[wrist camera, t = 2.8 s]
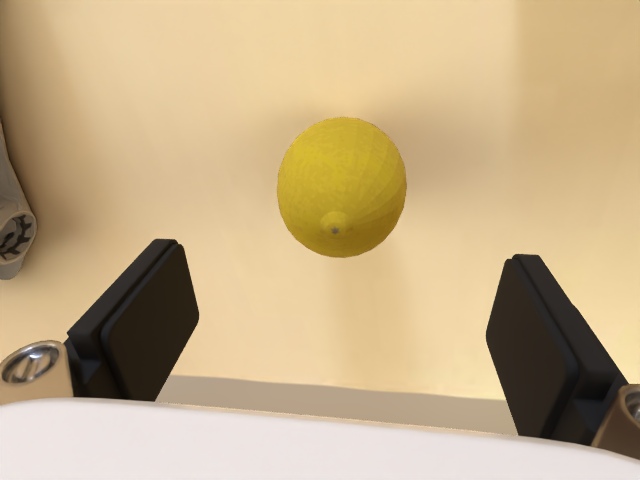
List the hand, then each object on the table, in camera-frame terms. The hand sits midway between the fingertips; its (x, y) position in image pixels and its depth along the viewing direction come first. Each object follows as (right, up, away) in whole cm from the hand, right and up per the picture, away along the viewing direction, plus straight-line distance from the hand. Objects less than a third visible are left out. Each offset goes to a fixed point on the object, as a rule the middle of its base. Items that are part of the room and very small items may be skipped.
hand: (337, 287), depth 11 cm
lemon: (+1, +6, +9) cm, 11 cm away
